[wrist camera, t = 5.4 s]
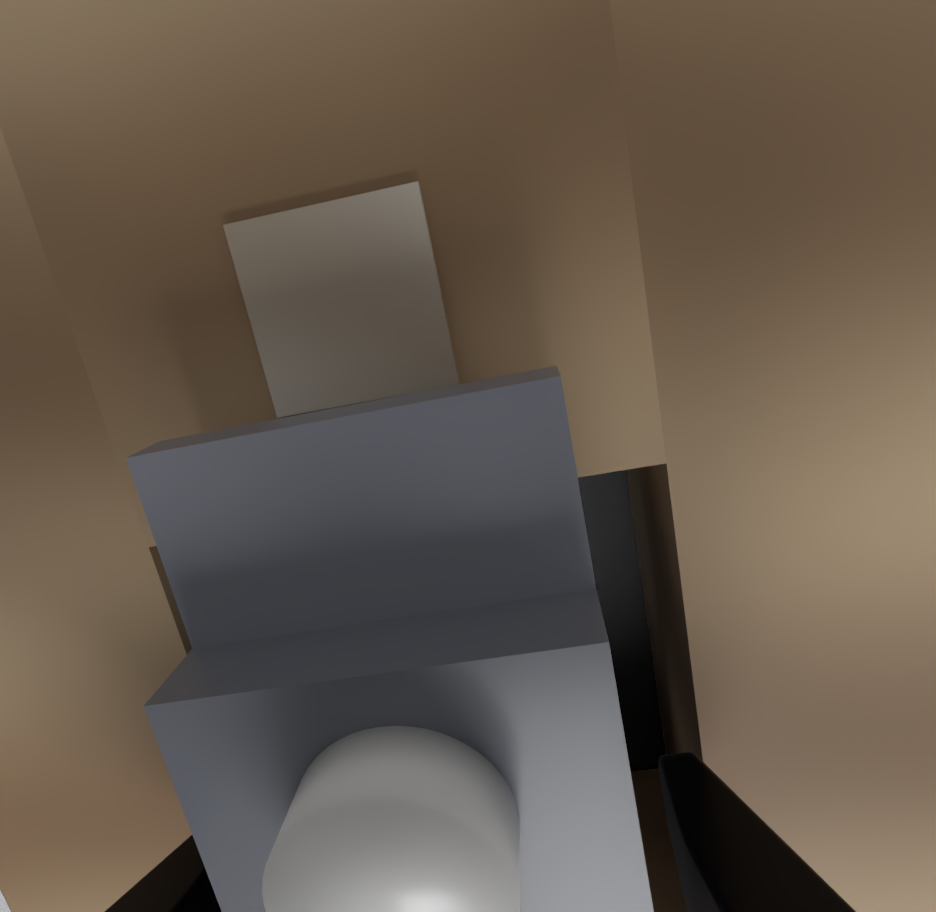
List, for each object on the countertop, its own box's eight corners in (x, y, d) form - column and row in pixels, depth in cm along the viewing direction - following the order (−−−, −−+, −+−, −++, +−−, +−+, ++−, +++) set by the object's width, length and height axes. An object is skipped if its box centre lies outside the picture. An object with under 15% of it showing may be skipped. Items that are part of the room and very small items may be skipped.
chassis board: (894, 990, 14) (1039, 1273, 10) (269, 1029, 16) (187, 1282, 12) (856, -124, 9) (1130, -435, 5) (-77, 119, 11) (-431, 37, 7)
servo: (629, 833, 13) (737, 1399, 7) (430, 853, 14) (348, 1399, 7) (541, 324, 10) (578, 422, 4) (300, 372, 11) (-18, 529, 4)
